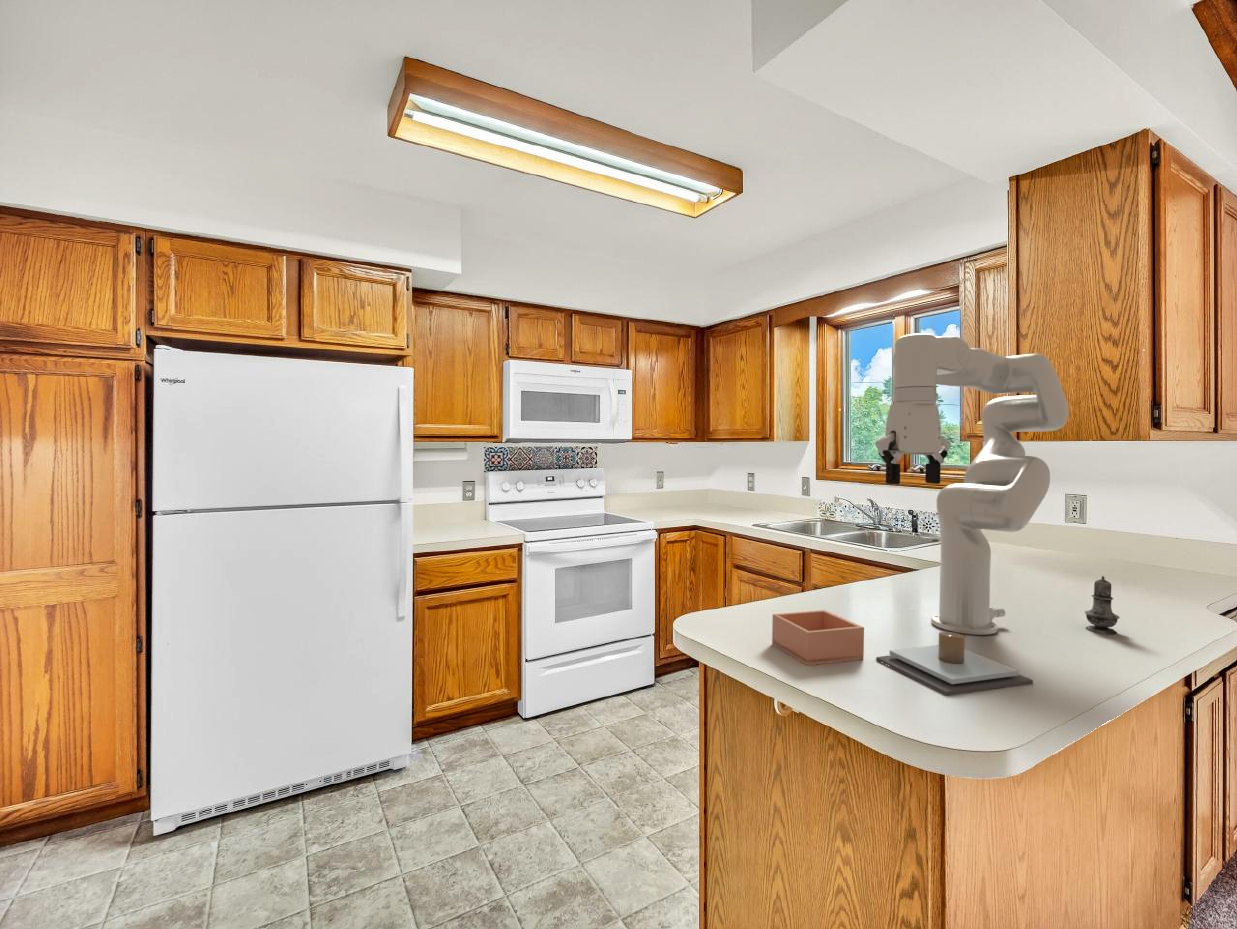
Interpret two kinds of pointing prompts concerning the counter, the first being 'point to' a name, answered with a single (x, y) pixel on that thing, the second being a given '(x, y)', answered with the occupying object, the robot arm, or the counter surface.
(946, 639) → the lid
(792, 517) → the counter surface
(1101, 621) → the salt shaker
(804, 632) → the open storage tray
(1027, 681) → the mat
